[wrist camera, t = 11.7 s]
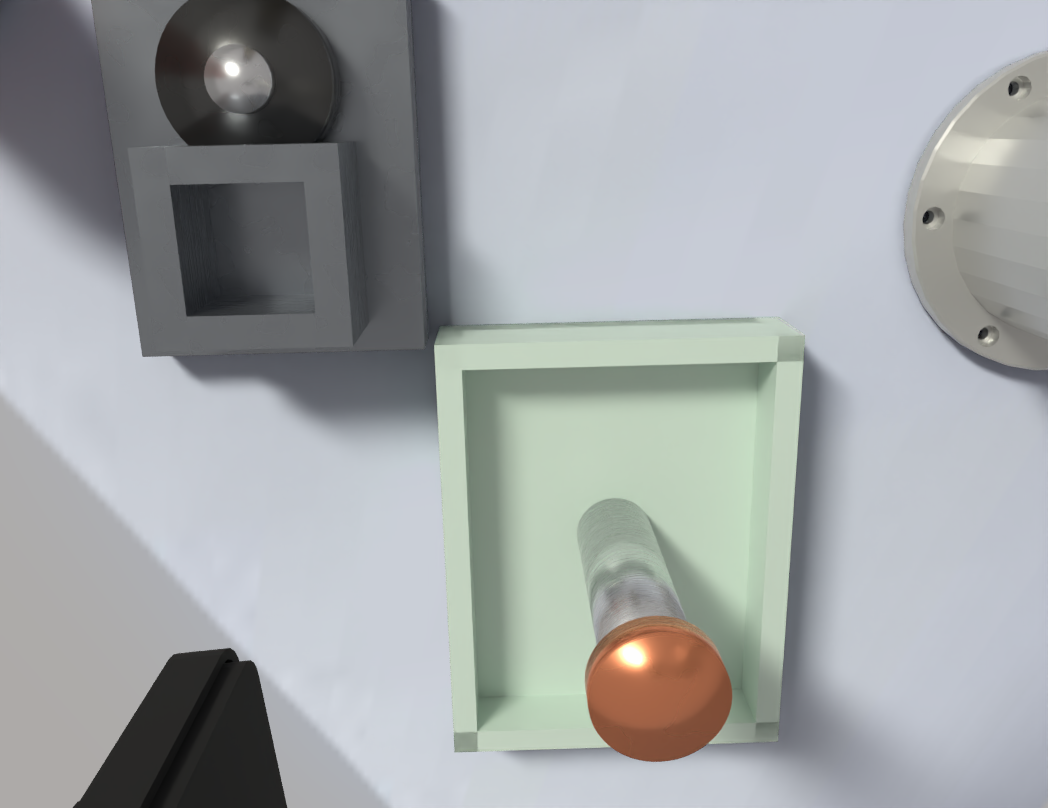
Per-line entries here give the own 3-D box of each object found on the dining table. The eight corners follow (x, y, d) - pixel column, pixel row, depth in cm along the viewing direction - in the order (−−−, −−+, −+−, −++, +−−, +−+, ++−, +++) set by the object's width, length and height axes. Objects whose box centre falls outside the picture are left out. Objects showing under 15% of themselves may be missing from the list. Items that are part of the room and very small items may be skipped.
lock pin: (665, 483, 39) (735, 633, 27) (664, 577, 40) (729, 759, 29) (562, 486, 39) (587, 638, 27) (563, 580, 40) (588, 763, 29)
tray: (778, 317, 38) (804, 335, 35) (756, 694, 43) (777, 741, 40) (439, 326, 38) (434, 345, 35) (458, 703, 43) (454, 752, 40)
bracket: (408, -33, 34) (390, -65, 28) (428, 338, 38) (415, 375, 32) (109, -27, 34) (29, -58, 28) (160, 345, 38) (100, 384, 32)
